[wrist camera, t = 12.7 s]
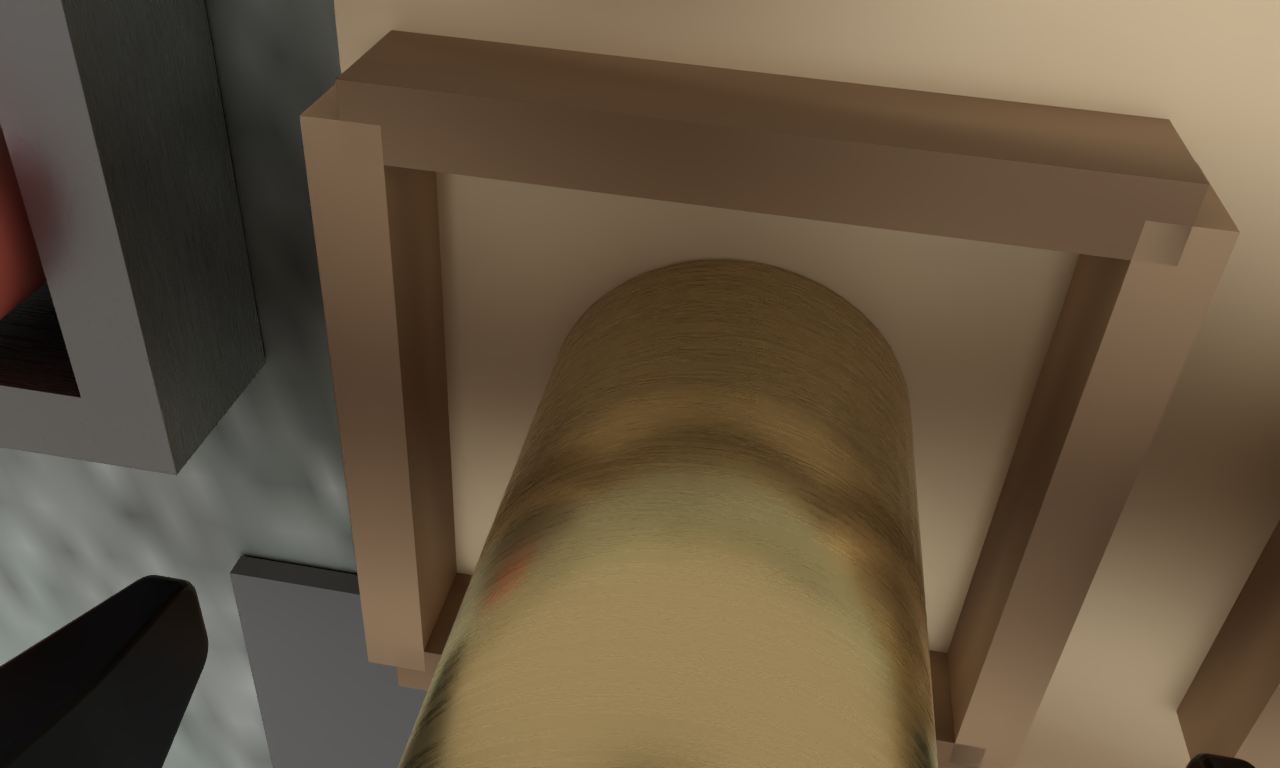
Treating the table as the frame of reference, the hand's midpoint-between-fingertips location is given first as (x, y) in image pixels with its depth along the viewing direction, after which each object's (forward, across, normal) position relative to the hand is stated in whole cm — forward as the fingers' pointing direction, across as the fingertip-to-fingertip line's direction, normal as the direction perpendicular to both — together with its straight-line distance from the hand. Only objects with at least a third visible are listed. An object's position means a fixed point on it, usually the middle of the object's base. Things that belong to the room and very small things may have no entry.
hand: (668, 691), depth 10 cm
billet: (+4, 0, 0) cm, 4 cm away
